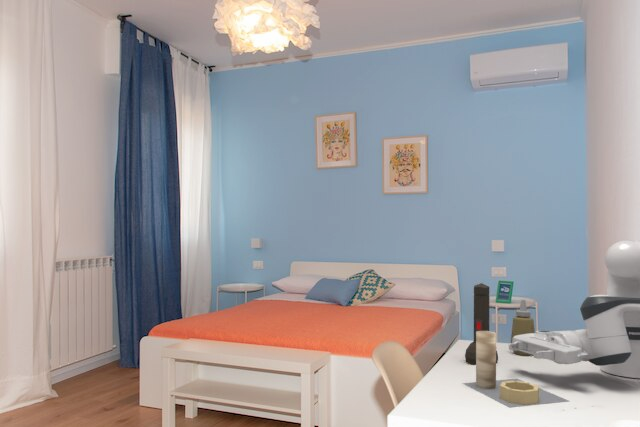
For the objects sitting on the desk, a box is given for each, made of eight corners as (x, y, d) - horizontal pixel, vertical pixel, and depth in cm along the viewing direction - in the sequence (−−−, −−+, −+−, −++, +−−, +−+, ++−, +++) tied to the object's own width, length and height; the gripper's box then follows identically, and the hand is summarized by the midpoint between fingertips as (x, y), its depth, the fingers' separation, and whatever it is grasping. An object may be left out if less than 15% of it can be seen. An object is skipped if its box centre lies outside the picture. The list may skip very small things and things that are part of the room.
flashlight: (471, 357, 178) (460, 363, 170) (471, 280, 179) (460, 283, 171) (502, 362, 173) (492, 368, 165) (502, 282, 173) (492, 285, 165)
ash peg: (488, 382, 146) (488, 330, 146) (500, 388, 141) (500, 333, 142) (472, 384, 145) (472, 331, 145) (483, 389, 140) (483, 334, 140)
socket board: (516, 382, 150) (516, 367, 151) (569, 405, 131) (569, 388, 131) (462, 387, 146) (462, 372, 146) (509, 411, 126) (509, 394, 126)
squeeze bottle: (538, 357, 179) (538, 302, 180) (512, 355, 181) (512, 301, 181) (533, 351, 187) (533, 299, 188) (509, 350, 189) (509, 298, 189)
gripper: (592, 367, 143) (551, 372, 138) (535, 350, 162) (497, 354, 157) (592, 343, 143) (551, 347, 138) (535, 329, 162) (497, 332, 157)
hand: (522, 351), depth 147 cm, fingers open, 8 cm apart
